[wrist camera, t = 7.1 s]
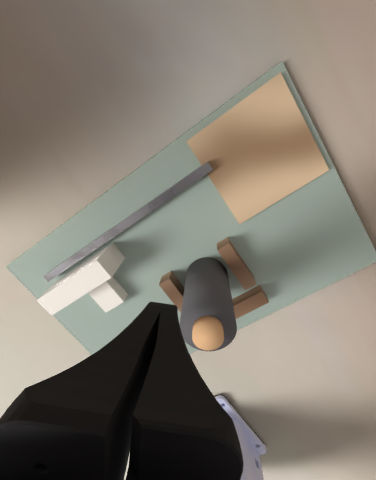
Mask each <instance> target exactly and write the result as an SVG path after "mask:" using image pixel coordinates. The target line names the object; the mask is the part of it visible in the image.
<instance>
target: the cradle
mask: <svg viewBox="0 0 376 480" xmlns="http://www.w3.org/2000/svg"><path fill="white" fill-rule="evenodd" d="M217 250H218V252H219V253H220V255H221V256H222V258H223V259H224V261H225V262H226V263H227V265H228V266H229V268H230V269H231V271H232V272H233V274H234V275H235V277H236V278H237V279H238V281H239V282H240V284H241V285H242V287H243V288H244V290H247V289H249V288H251V287H253V286H254V285H256V281H255V279H254V276H253V274H252V273H251V271H250V270H249V268H248V267H247V265H246V264H245V262H244V261H243V259H242V258H241V256H240V255H239V253H238V252H237V250H236V249H235V247H234V246H233V244H232V243H231V241H230V240H229V238H228V237H227V238H225V239H223V240H222V241H220V242H218V243H217ZM159 286H160V287H161V288H162V290H163V291H164V292H165V293H166V295H167V296H168V297H169V298H170V300H171V301H172V302H173V303H174V305H176V306H177V307H178V310H179V311H180V312H181V310H182V302H183V295H184V287H183V285H182V284H181V283H180V281H179V280H178V279H177V277H176V276H175V275H174V274H173V272H172V271H170V272H168V273H167V274H165V275H163V276H162V277H161V280H160V283H159ZM232 301H233V307H234V313H235V318H236V319H237V318H239V317H241V316H243V315H245V314H247V313H249V312H251V311H253V310H255V309H257V308H259V307H261V306H263V305H265V304H267V303H269V300H268V298H267V295H266V294H265V292H264V291H263V289H262V288H261V286H260V285H258V286H256V287H254V288H252V289H251V290H249V291H247V292H245V293H243V294H241V295H239V296H237V297H235V298H234V299H232Z"/></svg>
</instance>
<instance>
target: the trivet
mask: <svg viewBox="0 0 376 480" xmlns="http://www.w3.org/2000/svg"><path fill="white" fill-rule="evenodd" d="M186 142H187V143H188V145H189V146H190V148H191V149H192V151H193V153H194V154H195V156H196V157H197V159H198V160H199V162H200V164H201V165H203V164H205V163H206V162H209V164H210V166H211V167H212V169H213V170H212V171H210V172H209V173H207V174H208V176H209V178H210V179H211V181H212V182H213V184H214V185H215V187H216V188H217V190H218V192H219V193H220V195H221V196H222V198H223V199H224V201H225V203H226V204H227V206H228V207H229V209H230V210H231V212H232V213H233V215H234V217H235V218H236V220H237V221H238V223H239V224H241V223H243V222H244V221H246V220H248V219H249V218H251V217H253V216H254V215H256V214H258V213H259V212H261V211H263V210H264V209H266V208H268V207H269V206H271V205H272V204H274V203H276V202H277V201H279V200H281V199H282V198H284V197H286V196H287V195H289V194H291V193H292V192H294V191H296V190H297V189H299V188H301V187H302V186H304V185H306V184H307V183H309V182H311V181H312V180H314V179H315V178H317V177H319V176H320V175H322V174H324V173H325V172H327V171H329V168H328V166H327V164H326V162H325V160H324V158H323V156H322V154H321V152H320V150H319V148H318V146H317V144H316V142H315V140H314V138H313V136H312V134H311V132H310V130H309V128H308V126H307V124H306V122H305V120H304V118H303V116H302V114H301V112H300V110H299V108H298V106H297V104H296V102H295V100H294V98H293V96H292V94H291V92H290V90H289V88H288V86H287V84H286V82H285V80H284V78H283V76H282V74H281V72H280V73H279V74H278V75H276V76H275V77H273V78H272V79H271V80H269V81H268V82H267V83H265V84H264V85H263V86H261V87H260V88H258V89H257V90H256V91H254V92H253V93H252V94H250V95H249V96H248V97H246V98H245V99H243V100H242V101H241V102H239V103H238V104H237V105H235V106H234V107H233V108H231V109H230V110H229V111H227V112H226V113H224V114H223V115H222V116H220V117H219V118H218V119H216V120H215V121H214V122H212V123H211V124H209V125H208V126H207V127H205V128H204V129H203V130H201V131H200V132H199V133H197V134H196V135H194V136H193V137H192V138H190V139H189V140H188V141H186Z"/></svg>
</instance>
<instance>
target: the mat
mask: <svg viewBox="0 0 376 480" xmlns="http://www.w3.org/2000/svg"><path fill="white" fill-rule="evenodd" d="M280 72H281V74H282V76H283V78H284V80H285V82H286V84H287V86H288V88H289V90H290V92H291V94H292V96H293V98H294V100H295V102H296V104H297V106H298V108H299V110H300V112H301V114H302V116H303V118H304V120H305V122H306V124H307V126H308V128H309V130H310V132H311V134H312V136H313V138H314V140H315V142H316V144H317V146H318V148H319V150H320V152H321V154H322V156H323V158H324V160H325V162H326V164H327V166H328V168H329V171H327V172H325V173H324V174H322V175H320V176H319V177H317V178H315V179H314V180H312V181H311V182H309V183H307V184H306V185H304V186H302V187H301V188H299V189H297V190H296V191H294V192H292V193H291V194H289V195H287V196H286V197H284V198H282V199H281V200H279V201H277V202H276V203H274V204H272V205H271V206H269V207H268V208H266V209H264V210H263V211H261V212H259V213H258V214H256V215H254V216H253V217H251V218H249V219H248V220H246V221H244V222H243V223H241V224H239V223H238V221H237V220H236V218H235V217H234V215H233V213H232V212H231V210H230V209H229V207H228V206H227V204H226V203H225V201H224V199H223V198H222V196H221V195H220V193H219V192H218V190H217V188H216V187H215V185H214V184H213V182H212V181H211V179H210V178H209V176H208V174H206V175H204V176H203V177H201V178H200V179H198V180H197V181H195V182H194V183H192V184H191V185H190V186H188V187H187V188H185V189H184V190H182V191H181V192H179V193H178V194H176V195H175V196H173V197H172V198H171V199H169V200H168V201H166V202H165V203H163V204H162V205H160V206H159V207H157V208H156V209H154V210H153V211H151V212H150V213H149V214H147V215H146V216H144V217H143V218H141V219H140V220H138V221H137V222H135V223H134V224H132V225H131V226H129V227H128V228H127V229H125V230H124V231H122V232H121V233H119V234H118V235H116V236H115V237H113V238H112V239H110V240H109V241H108V242H106V243H105V244H103V245H102V246H100V247H99V248H97V249H96V250H94V251H93V252H91V253H90V254H88V255H87V256H86V257H84V258H83V259H81V260H80V261H78V262H77V263H75V264H74V265H72V266H71V267H69V268H68V269H66V270H65V271H64V272H62V273H61V274H59V275H58V276H56V277H55V278H53V279H52V280H50V281H49V282H48V281H47V280H46V279H45V278H44V277H43V276H44V275H45V274H47V273H48V272H49V271H50V270H52V269H53V268H55V267H56V266H58V265H59V264H60V263H62V262H63V261H65V260H66V259H68V258H69V257H71V256H72V255H73V254H75V253H76V252H78V251H79V250H81V249H82V248H83V247H85V246H86V245H88V244H89V243H91V242H92V241H94V240H95V239H96V238H98V237H99V236H101V235H102V234H104V233H105V232H106V231H108V230H109V229H111V228H112V227H114V226H115V225H117V224H118V223H119V222H121V221H122V220H124V219H125V218H127V217H128V216H129V215H131V214H132V213H134V212H135V211H137V210H138V209H140V208H141V207H142V206H144V205H145V204H147V203H148V202H150V201H151V200H152V199H154V198H155V197H157V196H158V195H160V194H161V193H163V192H164V191H165V190H167V189H168V188H170V187H171V186H173V185H174V184H175V183H177V182H178V181H180V180H181V179H183V178H184V177H186V176H187V175H188V174H190V173H191V172H193V171H194V170H196V169H197V168H198V167H200V166H201V164H200V162H199V160H198V159H197V157H196V156H195V154H194V153H193V151H192V149H191V148H190V146H189V145H188V143H187V142H186V141H188V140H189V139H190V138H192V137H193V136H194V135H196V134H197V133H199V132H200V131H201V130H203V129H204V128H205V127H207V126H208V125H209V124H211V123H212V122H214V121H215V120H216V119H218V118H219V117H220V116H222V115H223V114H224V113H226V112H227V111H229V110H230V109H231V108H233V107H234V106H235V105H237V104H238V103H239V102H241V101H242V100H243V99H245V98H246V97H248V96H249V95H250V94H252V93H253V92H254V91H256V90H257V89H258V88H260V87H261V86H263V85H264V84H265V83H267V82H268V81H269V80H271V79H272V78H273V77H275V76H276V75H278V74H279V73H280ZM227 237H228V238H229V240H230V241H231V243H232V244H233V246H234V247H235V249H236V250H237V252H238V253H239V255H240V256H241V258H242V259H243V261H244V262H245V264H246V265H247V267H248V268H249V270H250V271H251V273H252V274H253V276H254V279H255V281H256V285H254V286H253V287H251V288H249V289H247V290H244V288H243V287H242V285H241V284H240V282H239V281H238V279H237V278H236V277H235V275H234V274H233V272H232V271H231V269H230V268H229V266H228V265H227V263H226V262H225V261H224V259H223V258H222V256H221V255H220V253H219V252H218V250H217V243H218V242H220V241H222V240H223V239H225V238H227ZM111 243H114V244H115V246H116V247H117V248H118V249H119V250H120V252H121V253H122V254H123V255H124V257H125V259H124V260H123V262H122V263H121V265H120V266H119V268H118V269H117V271H116V272H115V273H114V275H113V277H114V278H115V279H116V281H117V282H118V283H119V284H120V285H121V287H122V288H123V289H124V290H125V291H126V292H127V294H128V295H127V297H126V299H125V301H124V302H123V303H121V304H120V305H118V306H116V307H115V308H113V309H111V310H110V311H108V312H106V313H105V311H104V310H103V309H102V308H101V307H100V306H99V305H98V304H97V303H96V301H95V300H94V299H93V298H92V297H91V296H90V295H89V294H88V293H87V294H85V295H84V296H82V297H80V298H79V299H77V300H76V301H74V302H72V303H71V304H69V305H68V306H66V307H65V308H63V309H61V310H60V311H58V312H57V313H55V314H54V315H53V316H54V317H55V318H56V319H57V320H58V321H59V322H60V323H61V324H62V325H63V326H64V327H65V328H66V329H67V330H68V331H69V332H70V333H71V334H72V335H73V336H74V337H75V338H76V339H77V340H78V341H79V342H80V343H81V344H82V345H83V346H84V347H85V349H86V350H87V351H88V352H89V353H90V354H91V355H92V354H94V353H95V352H97V351H98V350H100V349H101V348H102V347H104V346H105V345H106V344H108V343H109V342H110V341H112V340H113V339H114V338H115V337H116V336H117V335H119V334H120V333H121V332H122V331H123V330H124V329H125V328H126V327H127V326H128V325H129V324H130V323H131V322H132V321H133V320H134V319H135V318H136V317H137V316H138V315H139V314H140V313H141V312H142V310H143V309H144V308H145V307H146V306H147V304H148V303H149V302H157V303H165V304H172V305H174V303H173V302H172V301H171V300H170V298H169V297H168V296H167V295H166V293H165V292H164V291H163V290H162V288H161V287H160V286H159V283H160V280H161V277H162V276H163V275H165V274H167V273H168V272H170V271H172V272H173V274H174V275H175V276H176V277H177V279H178V280H179V281H180V283H181V284H182V285H183V287H184V288H185V281H186V274H187V269H188V267H189V266H190V265H191V263H192V262H194V261H195V260H197V259H199V258H203V257H210V258H214V259H217V260H219V261H220V262H221V263H222V264H223V265H224V266H225V267H226V270H227V273H228V279H229V284H230V290H231V296H232V299H234V298H235V297H237V296H239V295H241V294H243V293H245V292H247V291H249V290H251V289H252V288H254V287H256V286H258V285H260V286H261V288H262V289H263V291H264V292H265V294H266V295H267V298H268V300H269V303H267V304H265V305H263V306H261V307H259V308H257V309H255V310H253V311H251V312H249V313H247V314H245V315H243V316H241V317H239V318H237V319H236V324H237V330H239V329H241V328H243V327H245V326H247V325H249V324H251V323H253V322H255V321H257V320H259V319H261V318H263V317H265V316H268V315H270V314H272V313H274V312H276V311H278V310H280V309H282V308H284V307H286V306H288V305H290V304H292V303H294V302H296V301H298V300H300V299H302V298H304V297H306V296H308V295H310V294H312V293H314V292H316V291H318V290H320V289H322V288H324V287H326V286H328V285H330V284H332V283H334V282H336V281H338V280H340V279H342V278H345V277H347V276H349V275H351V274H353V273H355V272H357V271H359V270H361V269H363V268H365V267H367V266H369V265H371V264H373V263H375V262H376V250H375V248H374V246H373V244H372V242H371V240H370V238H369V236H368V234H367V232H366V230H365V228H364V226H363V224H362V222H361V220H360V218H359V216H358V214H357V212H356V210H355V208H354V206H353V204H352V202H351V200H350V198H349V196H348V193H347V191H346V189H345V187H344V185H343V183H342V181H341V179H340V177H339V175H338V173H337V171H336V169H335V167H334V165H333V163H332V161H331V159H330V157H329V155H328V153H327V151H326V149H325V147H324V145H323V143H322V141H321V139H320V136H319V134H318V132H317V130H316V128H315V126H314V124H313V122H312V120H311V118H310V116H309V114H308V112H307V110H306V108H305V106H304V104H303V102H302V100H301V98H300V96H299V94H298V92H297V90H296V88H295V86H294V84H293V82H292V79H291V77H290V75H289V73H288V71H287V69H286V67H285V65H284V63H283V61H281V62H280V63H279V64H277V65H276V66H275V67H273V68H272V69H271V70H269V71H268V72H267V73H265V74H264V75H263V76H261V77H260V78H259V79H257V80H256V81H255V82H253V83H252V84H251V85H249V86H248V87H246V88H245V89H244V90H242V91H241V92H240V93H238V94H237V95H236V96H234V97H233V98H232V99H230V100H229V101H228V102H226V103H225V104H224V105H222V106H221V107H220V108H218V109H217V110H216V111H214V112H213V113H212V114H210V115H209V116H208V117H206V118H205V119H204V120H202V121H201V122H199V123H198V124H197V125H195V126H194V127H193V128H191V129H190V130H189V131H187V132H186V133H185V134H183V135H182V136H181V137H179V138H178V139H177V140H175V141H174V142H173V143H171V144H170V145H169V146H167V147H166V148H165V149H163V150H162V151H161V152H159V153H158V154H157V155H155V156H154V157H153V158H151V159H150V160H148V161H147V162H146V163H144V164H143V165H142V166H140V167H139V168H138V169H136V170H135V171H134V172H132V173H131V174H130V175H128V176H127V177H126V178H124V179H123V180H122V181H120V182H119V183H118V184H116V185H115V186H114V187H112V188H111V189H110V190H108V191H107V192H106V193H104V194H103V195H101V196H100V197H99V198H97V199H96V200H95V201H93V202H92V203H91V204H89V205H88V206H87V207H85V208H84V209H83V210H81V211H80V212H79V213H77V214H76V215H75V216H73V217H72V218H71V219H69V220H68V221H67V222H65V223H64V224H63V225H61V226H60V227H59V228H57V229H56V230H54V231H53V232H52V233H50V234H49V235H48V236H46V237H45V238H44V239H42V240H41V241H40V242H38V243H37V244H36V245H34V246H33V247H32V248H30V249H29V250H28V251H26V252H25V253H24V254H22V255H21V256H20V257H18V258H17V259H16V260H14V261H13V262H12V263H10V264H9V265H7V266H6V268H7V269H8V270H9V271H10V272H11V273H12V274H13V275H14V276H15V277H16V278H17V279H18V280H19V281H20V282H21V283H22V284H23V285H24V286H25V287H26V288H27V289H28V290H29V291H30V292H31V293H32V294H33V295H34V296H35V297H36V298H37V299H38V298H39V297H41V296H42V295H43V294H44V293H45V292H46V291H47V290H48V289H49V288H50V287H51V286H52V285H53V284H54V283H56V282H57V281H58V280H59V279H60V278H61V277H63V276H64V275H66V274H67V273H69V272H70V271H72V270H73V269H74V268H76V267H77V266H79V265H80V264H82V263H83V262H85V261H86V260H88V259H89V258H91V257H92V256H94V255H95V254H97V253H98V252H100V251H101V250H103V249H104V248H106V247H107V246H108V245H110V244H111ZM180 317H181V312H180V311H179V310H178V319H179V324H180ZM185 344H186V347H187V349H188V352H189V354H191V353H193V352H195V351H197V350H198V349H195V348H193V347H191V346H190V345H188V344H187V343H186V342H185Z"/></svg>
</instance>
